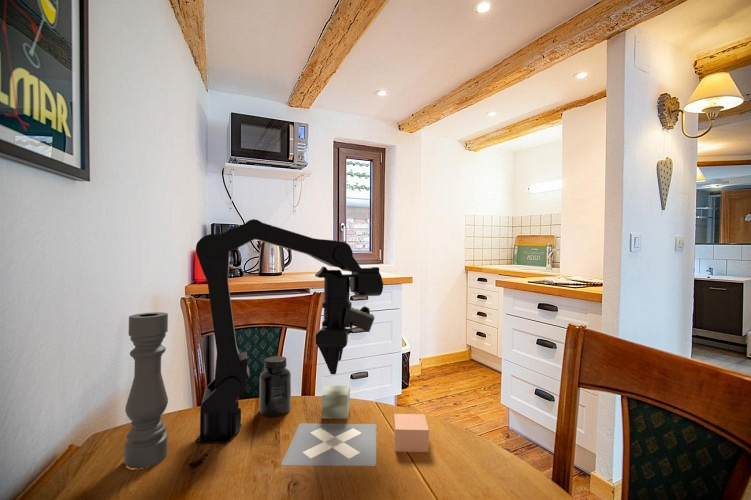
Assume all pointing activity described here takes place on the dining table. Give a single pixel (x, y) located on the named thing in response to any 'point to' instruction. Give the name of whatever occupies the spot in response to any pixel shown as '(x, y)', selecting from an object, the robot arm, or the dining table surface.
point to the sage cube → (335, 402)
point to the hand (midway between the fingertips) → (336, 367)
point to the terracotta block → (411, 433)
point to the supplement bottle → (275, 388)
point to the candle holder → (147, 392)
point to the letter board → (333, 445)
